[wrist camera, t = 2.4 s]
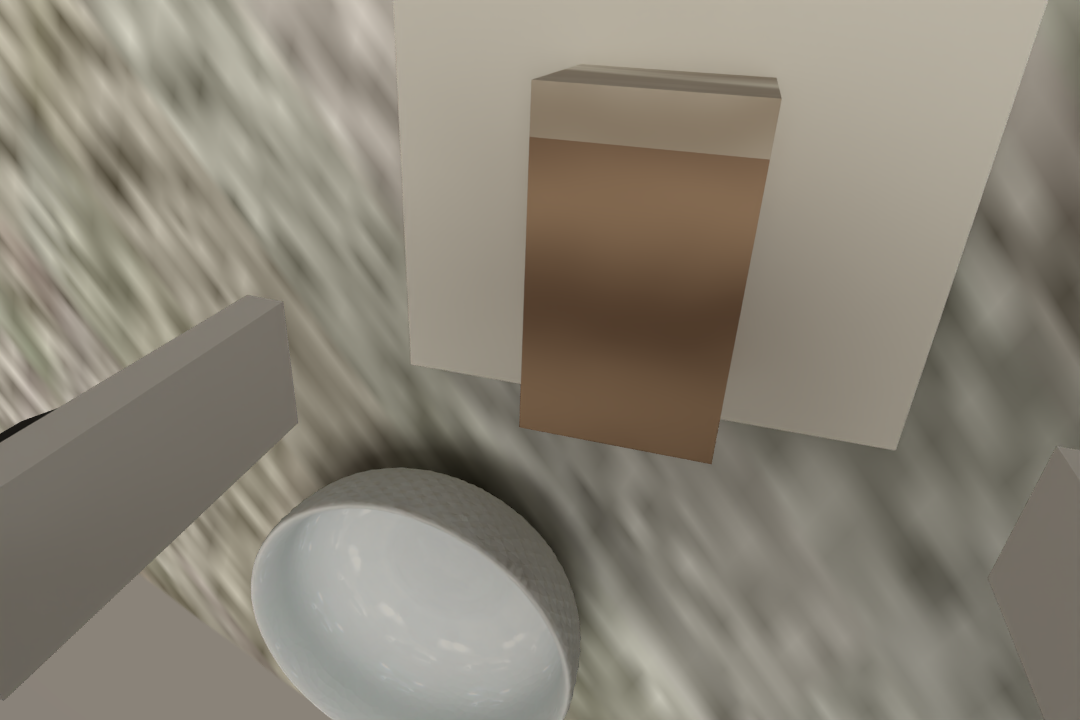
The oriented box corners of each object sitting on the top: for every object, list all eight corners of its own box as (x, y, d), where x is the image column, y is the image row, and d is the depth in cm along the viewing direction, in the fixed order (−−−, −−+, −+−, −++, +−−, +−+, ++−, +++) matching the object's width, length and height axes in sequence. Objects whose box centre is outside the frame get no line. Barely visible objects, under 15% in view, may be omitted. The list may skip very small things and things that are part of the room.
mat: (894, 445, 29) (895, 450, 29) (414, 360, 34) (410, 364, 34) (1269, -671, 15) (1280, -686, 15) (372, -546, 20) (365, -556, 20)
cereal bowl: (650, 642, 38) (630, 762, 32) (416, 676, 45) (363, 779, 39) (509, 385, 33) (454, 469, 27) (271, 467, 40) (185, 549, 34)
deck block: (720, 378, 30) (711, 464, 24) (562, 352, 31) (519, 427, 26) (776, 77, 24) (781, 98, 19) (580, 64, 26) (531, 79, 20)
